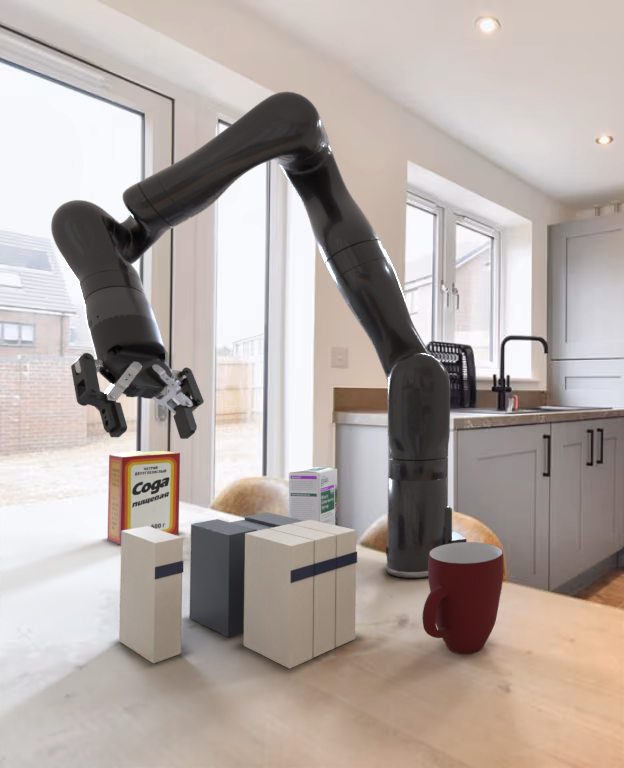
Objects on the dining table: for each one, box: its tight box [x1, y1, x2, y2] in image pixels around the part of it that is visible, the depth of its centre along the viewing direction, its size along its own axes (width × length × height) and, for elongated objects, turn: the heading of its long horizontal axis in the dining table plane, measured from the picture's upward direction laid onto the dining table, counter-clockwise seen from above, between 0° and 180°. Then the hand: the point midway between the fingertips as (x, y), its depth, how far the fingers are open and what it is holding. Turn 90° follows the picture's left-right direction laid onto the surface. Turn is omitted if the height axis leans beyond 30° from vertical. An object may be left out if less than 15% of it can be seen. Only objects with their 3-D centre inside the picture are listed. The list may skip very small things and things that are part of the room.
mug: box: [422, 541, 504, 655], centre depth 57 cm, size 10×8×10 cm
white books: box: [243, 520, 358, 670], centre depth 59 cm, size 8×9×12 cm
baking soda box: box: [107, 450, 181, 546], centre depth 102 cm, size 10×6×16 cm
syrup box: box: [288, 466, 339, 526], centre depth 90 cm, size 6×6×14 cm
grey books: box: [189, 511, 303, 638], centre depth 66 cm, size 10×9×11 cm
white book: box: [118, 526, 184, 664], centre depth 57 cm, size 3×9×12 cm, turn 55°
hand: (156, 435), depth 67 cm, fingers open, 8 cm apart
